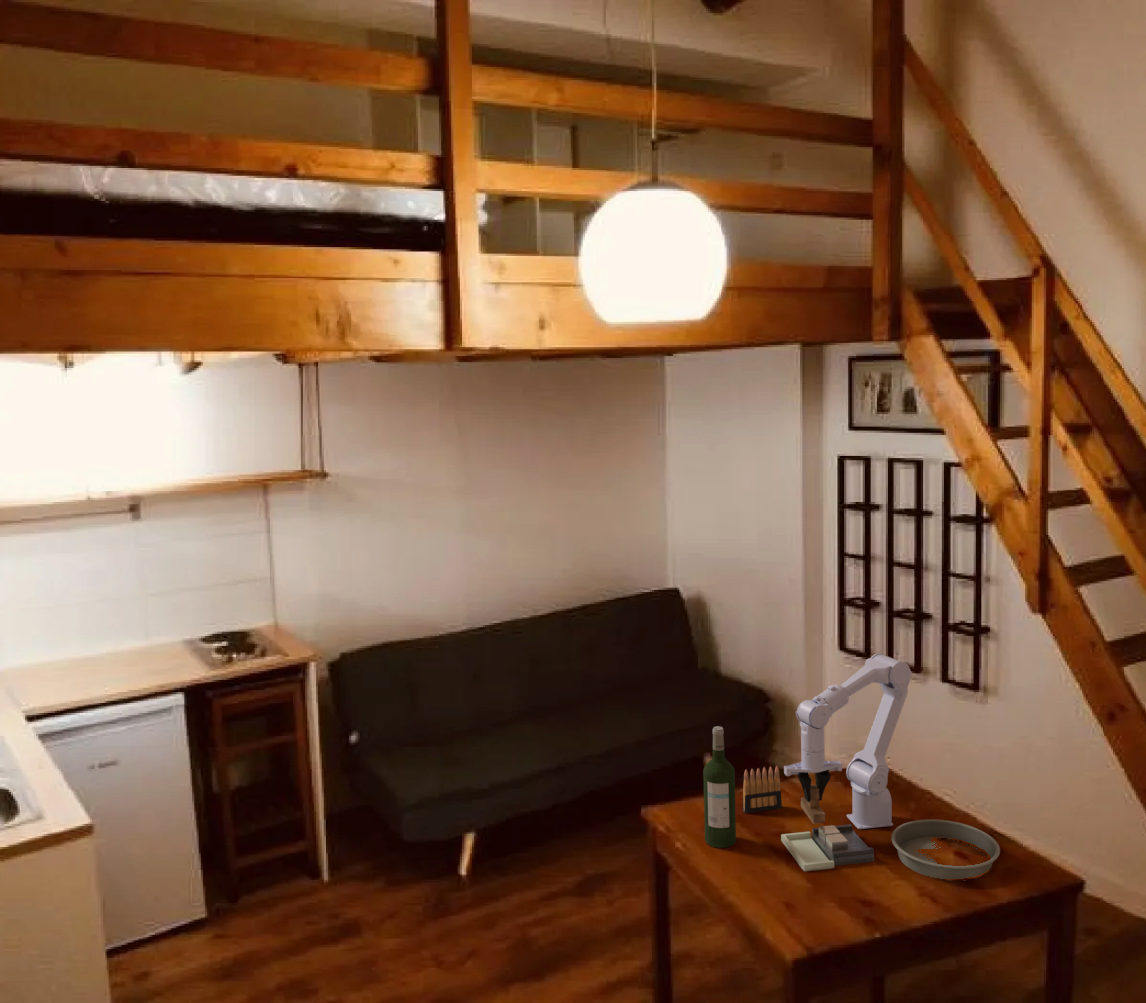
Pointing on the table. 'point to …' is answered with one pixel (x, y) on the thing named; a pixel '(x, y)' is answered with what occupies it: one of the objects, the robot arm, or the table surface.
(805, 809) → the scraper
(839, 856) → the slot plate
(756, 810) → the ammunition clip
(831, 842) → the chip
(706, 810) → the wine bottle
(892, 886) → the table surface
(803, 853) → the tray
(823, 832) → the chip
